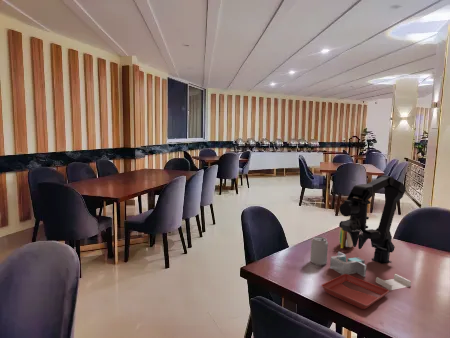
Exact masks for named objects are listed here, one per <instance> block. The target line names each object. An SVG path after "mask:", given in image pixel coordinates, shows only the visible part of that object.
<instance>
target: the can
mask: <svg viewBox="0 0 450 338" xmlns="http://www.w3.org/2000/svg"><path fill="white" fill-rule="evenodd" d="M328 246H329V242H328V239H327V237H323V236H313V237H312V239H311V243H310V259H309V260H310V262H311V263H312V264H313V265H316V266H325V265H326V264H327V261H328Z"/></svg>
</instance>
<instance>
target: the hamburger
mask: <svg viewBox="0 0 450 338" xmlns="http://www.w3.org/2000/svg"><path fill="white" fill-rule="evenodd" d="M338 242H339V244H340V249H341V248H342V249H344V247H345V248H352V247H354V246H353V242H352V239H351V236H350V234H349V233H348V232H347V231H343V230H342V228H341V227H339V230H338Z"/></svg>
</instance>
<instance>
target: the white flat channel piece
mask: <svg viewBox="0 0 450 338" xmlns="http://www.w3.org/2000/svg"><path fill="white" fill-rule="evenodd" d="M375 283H377V284H378V285H379V286H380V285H381V287H382V288H385V289H387V290H389V291H394V290H398V289H404V288H407V287H412V286H411V285H412V281H411V280H410V279H407V278H405V277H404V276H401V275H399V274H397V273H395V274H394V275H393V278H391V279H386V280H384V279H382V278H380V277H378V276H377V277H376V278H375Z"/></svg>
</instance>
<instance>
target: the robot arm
mask: <svg viewBox="0 0 450 338" xmlns="http://www.w3.org/2000/svg"><path fill="white" fill-rule="evenodd" d="M382 189H384V192H383V193H384V196H385V202H384V206H383V210H382V214H381V217H380V220H379V224H378V227H377V228H376V229H373V228H372V229H370V228H369V226H368V225H367V221H368V220H369V218H370V217H369V216H368V206H369V204H371V201H370V199H371V198H372V197H373V196H374V194H375V193H376V192H377V191H380V190H382ZM406 189H407V187H406V186H405V184H404V183H402V182H401V181H399V180H397V179H395V178H394V177H393V176H391V175H390V176H389V175H384V174H383V175H381V176H380V177H379V178H376V179H374V180H371V181H370V182H368V183H365V184H364V183H363V184H362V183H361V184H356V185H354V186H353V187H352V188H351V190H350V192H349V194H348V196H347V197H346V200H343V203H341V204H340V206H339V213H340V214H341V216H343V217H349V219H346V220H341V221H340V222H339V225H338V227H339V228H340V227H341V228H342V230H343V231H347V232H348V233H349V234H350V236H351V239H352V242H353V246H352V247H357V245H358V247H357V248H358V249H359V250H361V249H362V248H363V247H364V245H365V243H366V242H367V241H368V240H370V244H371V247H372V248H373V249H374V255H373V257H372V258H371V260H372V261H374V262H377V263H378V264H382V265H385V264H389V263H391V264H392V261H391V260H390V255H391V253H392V254H393V252H395V249H396V247H395V245H394V244H393V242H392V239H393V238H392V233H391V227H392V224H393V220H394V216H395V211H396V208H397V205H398V202H399V201H400V200H401V199H402V198H403V197H404V194H405V193H406Z"/></svg>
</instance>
